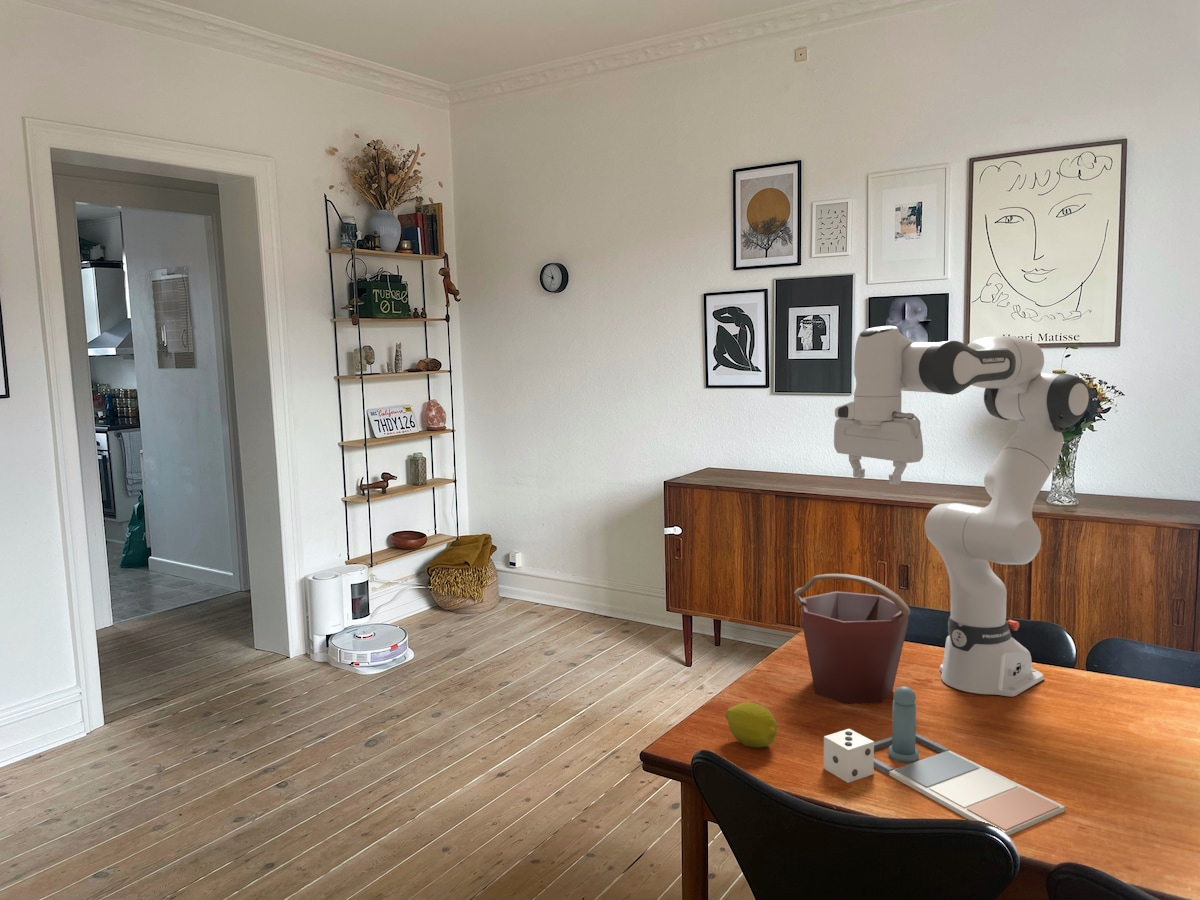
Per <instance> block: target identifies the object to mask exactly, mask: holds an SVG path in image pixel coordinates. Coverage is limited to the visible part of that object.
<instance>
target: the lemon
mask: <svg viewBox="0 0 1200 900" xmlns="http://www.w3.org/2000/svg"><path fill="white" fill-rule="evenodd" d="M725 717H726V720H727V723H728V728H729V731H730V732H731V734H732V736H734V738H735V739H736V740H737V741H738V742H739V743H740V744H743V745H744V746H746V747H751V748H760V749H761V748H766V747H768V746H770V745H771V744H773V742H774V741H775V738H776V735H777V731H778V724H777V720H776V719H775V716H774V715H773V714H772V712H771V710H769V709H768V708H767V707H766V706H763V704H762V705H761V704H760V703H759V704H758V703H756V702H750V701H749V702H747V701H746V702H742V703H741V702H740V703H738V704H737V705H734V706H731V707H729V708H728V709H726V712H725Z"/></svg>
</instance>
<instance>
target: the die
mask: <svg viewBox="0 0 1200 900" xmlns="http://www.w3.org/2000/svg"><path fill="white" fill-rule="evenodd" d="M874 742H875V741H874V740H872V739H870V738H868V737H866V736H865V735H862V734H861V733H859V732H857V731H855V730H853V729H852V728H846V729H843V730H839V731H836V732H834V733H831V734H828V735H827V734H826V735H824V736H823V769H824V770H826V771H827V772H828V773H830V774H832V775H834V776H835V777H837V778H839V779H841V780H842V781H844V782H845V783H847V784H849V783H852V782H854V781H857V780H860V779H864V778H867V777H870V776H872V775H874V774H875V773H874V772H875V770H874V768H875V767H874V758H875V755H874V754H875V751H874Z"/></svg>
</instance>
